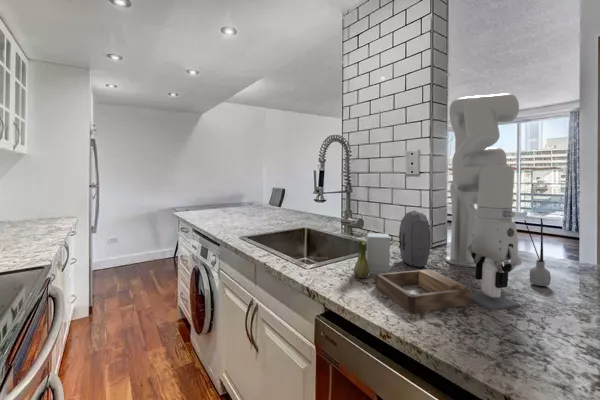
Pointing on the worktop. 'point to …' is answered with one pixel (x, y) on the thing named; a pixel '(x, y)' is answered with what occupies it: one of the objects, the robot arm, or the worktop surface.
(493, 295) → the eye dropper bottle
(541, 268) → the reed diffuser
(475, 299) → the slate mat
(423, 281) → the wooden block
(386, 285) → the walnut rack
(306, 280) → the worktop surface
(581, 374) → the worktop surface
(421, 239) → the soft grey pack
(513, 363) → the worktop surface
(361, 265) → the fennel bulb
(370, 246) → the supplement box
